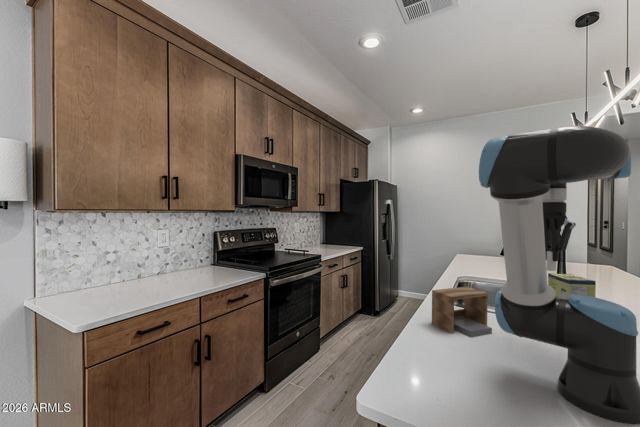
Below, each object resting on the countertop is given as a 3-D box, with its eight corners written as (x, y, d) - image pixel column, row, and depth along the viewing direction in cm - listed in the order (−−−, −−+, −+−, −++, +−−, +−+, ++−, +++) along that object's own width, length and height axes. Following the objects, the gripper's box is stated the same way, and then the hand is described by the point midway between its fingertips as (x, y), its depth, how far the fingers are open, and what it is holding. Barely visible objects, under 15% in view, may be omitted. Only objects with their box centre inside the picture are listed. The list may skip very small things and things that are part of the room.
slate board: (491, 334, 108) (491, 327, 108) (471, 338, 104) (471, 331, 104) (460, 321, 121) (460, 315, 121) (441, 324, 117) (441, 318, 117)
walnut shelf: (487, 326, 114) (487, 292, 114) (451, 333, 107) (452, 297, 107) (465, 318, 123) (466, 286, 123) (431, 323, 116) (432, 290, 116)
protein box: (570, 306, 142) (571, 273, 142) (596, 317, 126) (596, 281, 126) (546, 304, 143) (547, 272, 143) (569, 315, 128) (569, 280, 128)
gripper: (581, 201, 97) (580, 273, 97) (539, 202, 109) (538, 266, 109) (567, 200, 94) (566, 274, 94) (525, 202, 106) (524, 267, 106)
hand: (551, 270), depth 101 cm, fingers closed
